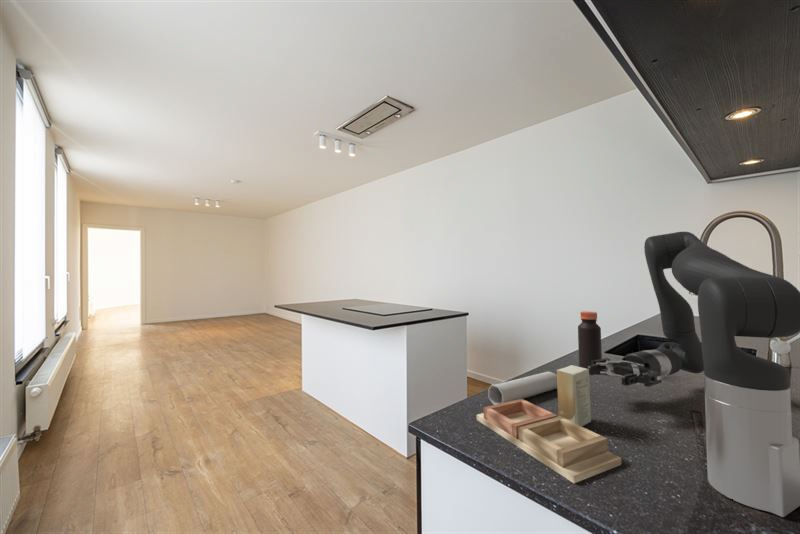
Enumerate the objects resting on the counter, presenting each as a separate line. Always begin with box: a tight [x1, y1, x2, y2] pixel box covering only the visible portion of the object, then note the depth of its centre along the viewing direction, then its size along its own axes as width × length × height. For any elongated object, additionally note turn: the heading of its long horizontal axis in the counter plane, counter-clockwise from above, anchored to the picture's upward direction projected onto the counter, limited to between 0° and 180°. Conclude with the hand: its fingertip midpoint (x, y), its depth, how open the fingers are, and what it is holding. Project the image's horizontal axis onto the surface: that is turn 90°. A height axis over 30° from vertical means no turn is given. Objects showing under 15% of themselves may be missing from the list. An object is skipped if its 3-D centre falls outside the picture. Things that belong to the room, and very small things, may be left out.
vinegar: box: [577, 311, 603, 369], centre depth 113 cm, size 7×7×20 cm
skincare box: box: [556, 364, 592, 427], centre depth 75 cm, size 6×4×12 cm
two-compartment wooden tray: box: [476, 399, 622, 484], centre depth 68 cm, size 26×12×4 cm, turn 24°
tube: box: [487, 371, 557, 405], centre depth 92 cm, size 5×5×25 cm
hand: (605, 375), depth 80 cm, fingers open, 8 cm apart
